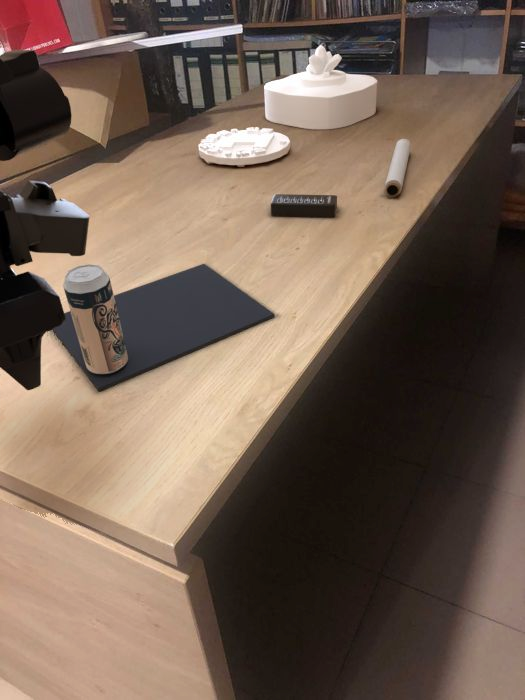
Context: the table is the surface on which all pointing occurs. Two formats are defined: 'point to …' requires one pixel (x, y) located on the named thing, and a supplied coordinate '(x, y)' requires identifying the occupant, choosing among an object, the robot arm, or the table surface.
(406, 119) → the table surface
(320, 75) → the white crystal-topped box
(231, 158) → the embossed medallion
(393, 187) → the tube
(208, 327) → the desk mat
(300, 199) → the multiport hub
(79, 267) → the beer can
